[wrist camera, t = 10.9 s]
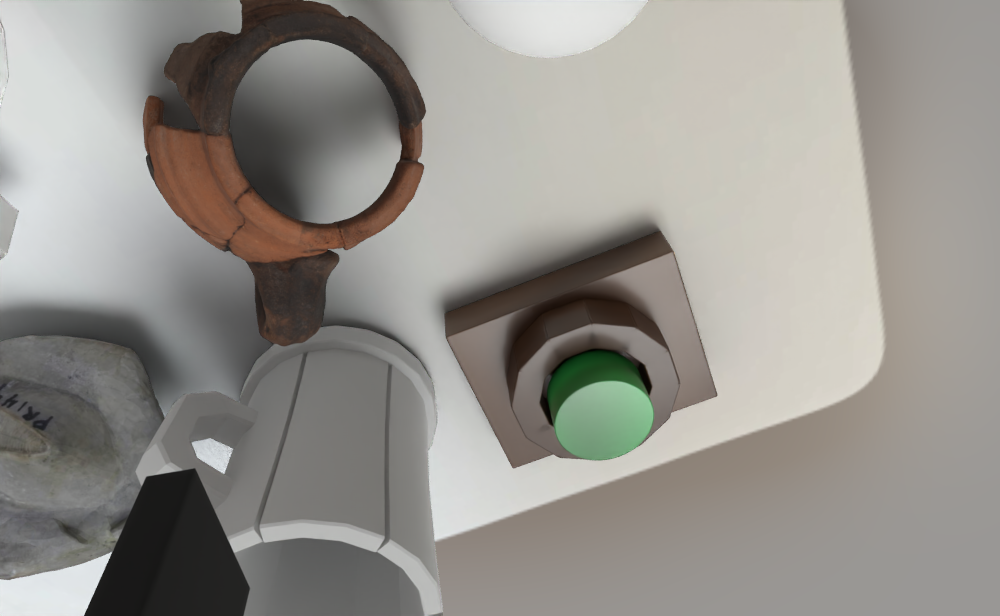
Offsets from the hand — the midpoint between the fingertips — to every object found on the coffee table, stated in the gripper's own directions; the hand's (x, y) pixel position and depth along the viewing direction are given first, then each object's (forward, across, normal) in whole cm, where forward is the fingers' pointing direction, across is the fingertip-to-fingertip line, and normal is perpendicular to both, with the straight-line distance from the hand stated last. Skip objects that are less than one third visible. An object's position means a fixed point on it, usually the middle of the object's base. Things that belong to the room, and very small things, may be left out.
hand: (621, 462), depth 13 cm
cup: (+21, -10, -12) cm, 26 cm away
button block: (+20, +2, -11) cm, 24 cm away
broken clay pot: (+21, -8, 0) cm, 22 cm away
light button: (+17, +2, -11) cm, 20 cm away
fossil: (+21, -20, -10) cm, 31 cm away
